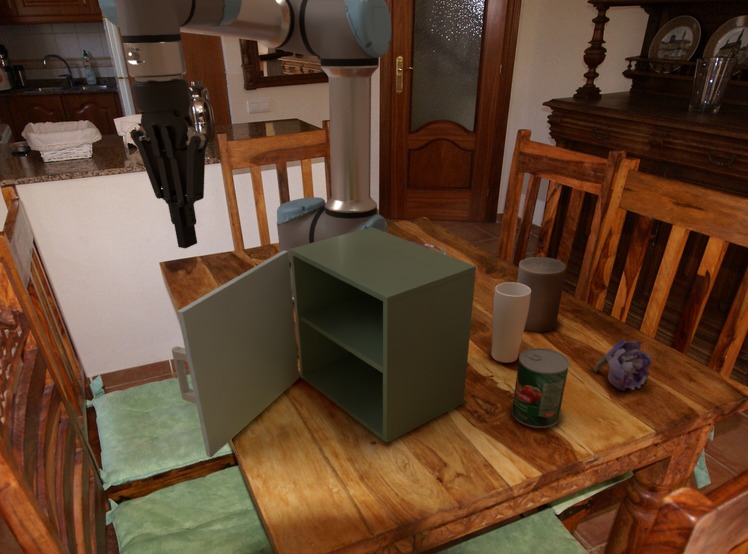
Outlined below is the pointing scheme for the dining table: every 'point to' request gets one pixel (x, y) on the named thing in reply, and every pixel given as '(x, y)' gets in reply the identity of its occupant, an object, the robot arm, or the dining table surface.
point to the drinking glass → (509, 320)
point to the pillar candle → (542, 291)
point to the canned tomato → (539, 387)
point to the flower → (626, 365)
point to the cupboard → (383, 327)
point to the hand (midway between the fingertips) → (187, 245)
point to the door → (238, 350)
